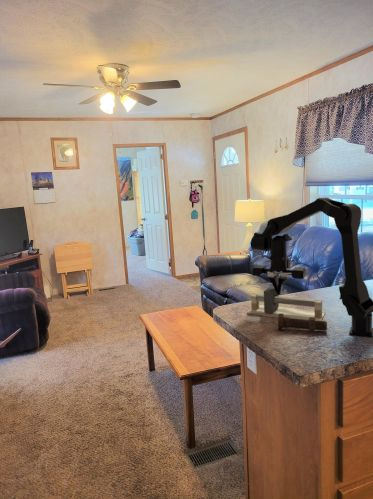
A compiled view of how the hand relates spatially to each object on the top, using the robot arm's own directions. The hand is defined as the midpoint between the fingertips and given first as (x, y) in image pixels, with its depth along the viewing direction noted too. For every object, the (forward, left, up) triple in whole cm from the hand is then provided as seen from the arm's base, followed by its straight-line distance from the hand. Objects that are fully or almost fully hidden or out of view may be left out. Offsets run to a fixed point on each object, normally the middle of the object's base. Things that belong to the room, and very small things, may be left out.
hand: (278, 294), depth 138 cm
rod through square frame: (0, -2, -7) cm, 7 cm away
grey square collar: (0, +3, -7) cm, 7 cm away
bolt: (-14, -11, -7) cm, 19 cm away
